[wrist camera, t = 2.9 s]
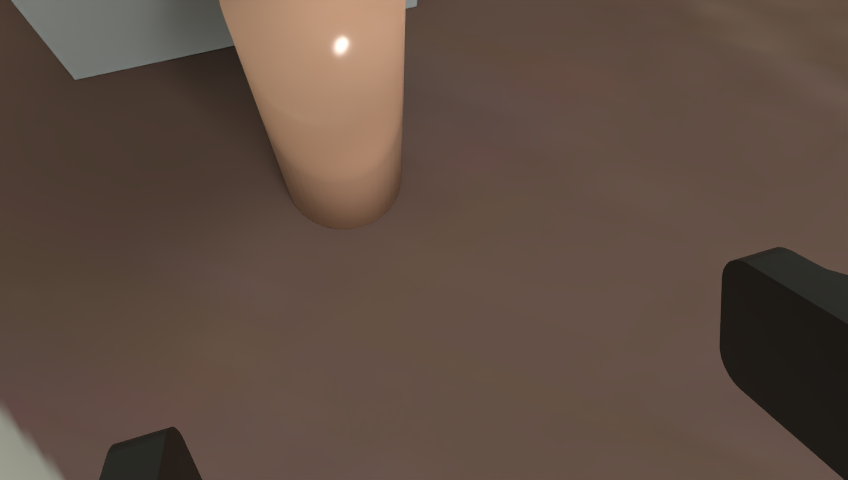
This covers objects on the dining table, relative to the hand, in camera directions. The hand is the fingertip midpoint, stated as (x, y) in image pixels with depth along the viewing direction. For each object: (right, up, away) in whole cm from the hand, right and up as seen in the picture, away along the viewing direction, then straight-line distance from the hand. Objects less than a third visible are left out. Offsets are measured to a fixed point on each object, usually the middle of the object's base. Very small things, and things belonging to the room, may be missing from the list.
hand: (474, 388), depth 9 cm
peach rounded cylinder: (-4, +5, +20) cm, 21 cm away
